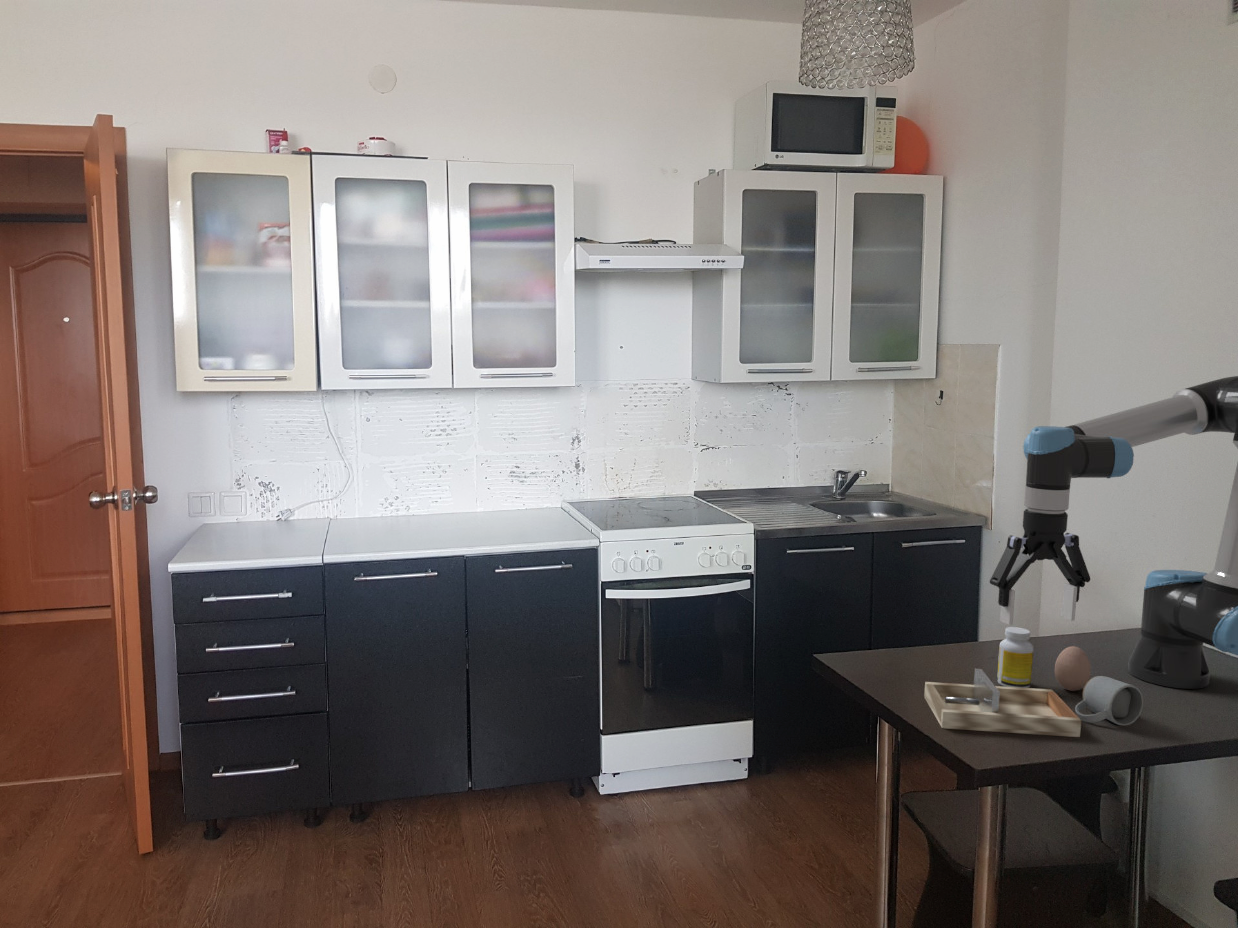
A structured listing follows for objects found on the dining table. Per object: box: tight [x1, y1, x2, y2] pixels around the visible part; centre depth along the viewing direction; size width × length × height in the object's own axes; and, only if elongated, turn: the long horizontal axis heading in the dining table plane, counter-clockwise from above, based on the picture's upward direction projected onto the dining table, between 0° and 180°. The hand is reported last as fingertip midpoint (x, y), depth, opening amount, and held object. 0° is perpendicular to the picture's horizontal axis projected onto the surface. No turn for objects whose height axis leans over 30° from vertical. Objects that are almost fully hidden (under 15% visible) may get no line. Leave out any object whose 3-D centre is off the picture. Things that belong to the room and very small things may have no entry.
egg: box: [1054, 645, 1092, 692], centre depth 194 cm, size 7×7×9 cm
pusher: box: [945, 668, 1000, 713], centre depth 180 cm, size 8×12×6 cm, turn 174°
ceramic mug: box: [1074, 675, 1144, 727], centre depth 180 cm, size 11×8×8 cm
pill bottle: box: [996, 626, 1034, 688], centre depth 196 cm, size 6×6×12 cm
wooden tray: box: [923, 681, 1082, 738], centre depth 180 cm, size 24×15×3 cm, turn 84°
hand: (1037, 620), depth 180 cm, fingers open, 13 cm apart
